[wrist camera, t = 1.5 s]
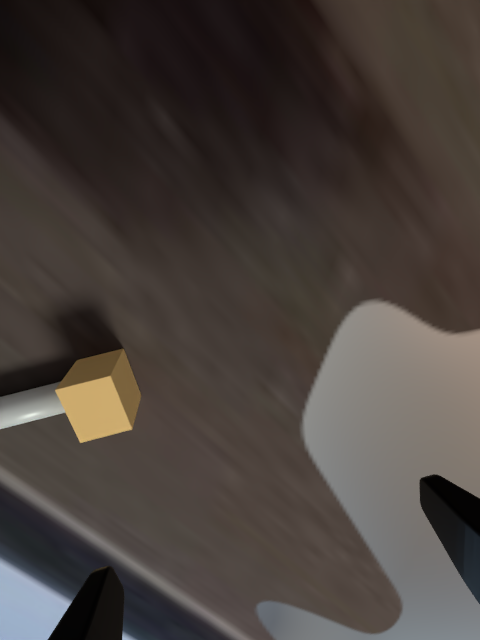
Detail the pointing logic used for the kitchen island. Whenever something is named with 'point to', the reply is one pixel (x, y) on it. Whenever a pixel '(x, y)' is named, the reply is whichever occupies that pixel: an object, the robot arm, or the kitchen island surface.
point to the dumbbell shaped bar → (82, 398)
